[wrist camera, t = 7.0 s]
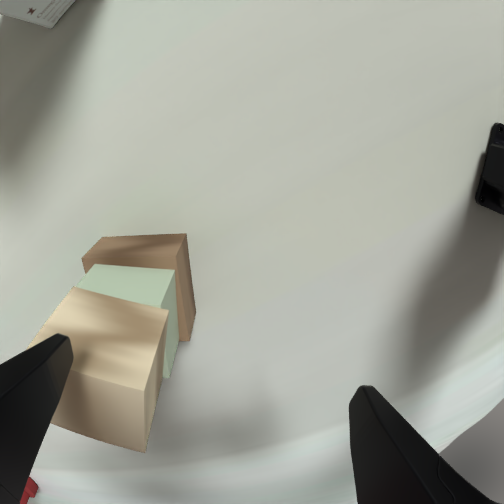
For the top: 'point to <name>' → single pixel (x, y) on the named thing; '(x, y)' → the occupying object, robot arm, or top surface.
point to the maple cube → (109, 366)
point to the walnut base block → (152, 265)
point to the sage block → (140, 295)
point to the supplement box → (36, 10)
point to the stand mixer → (29, 491)
